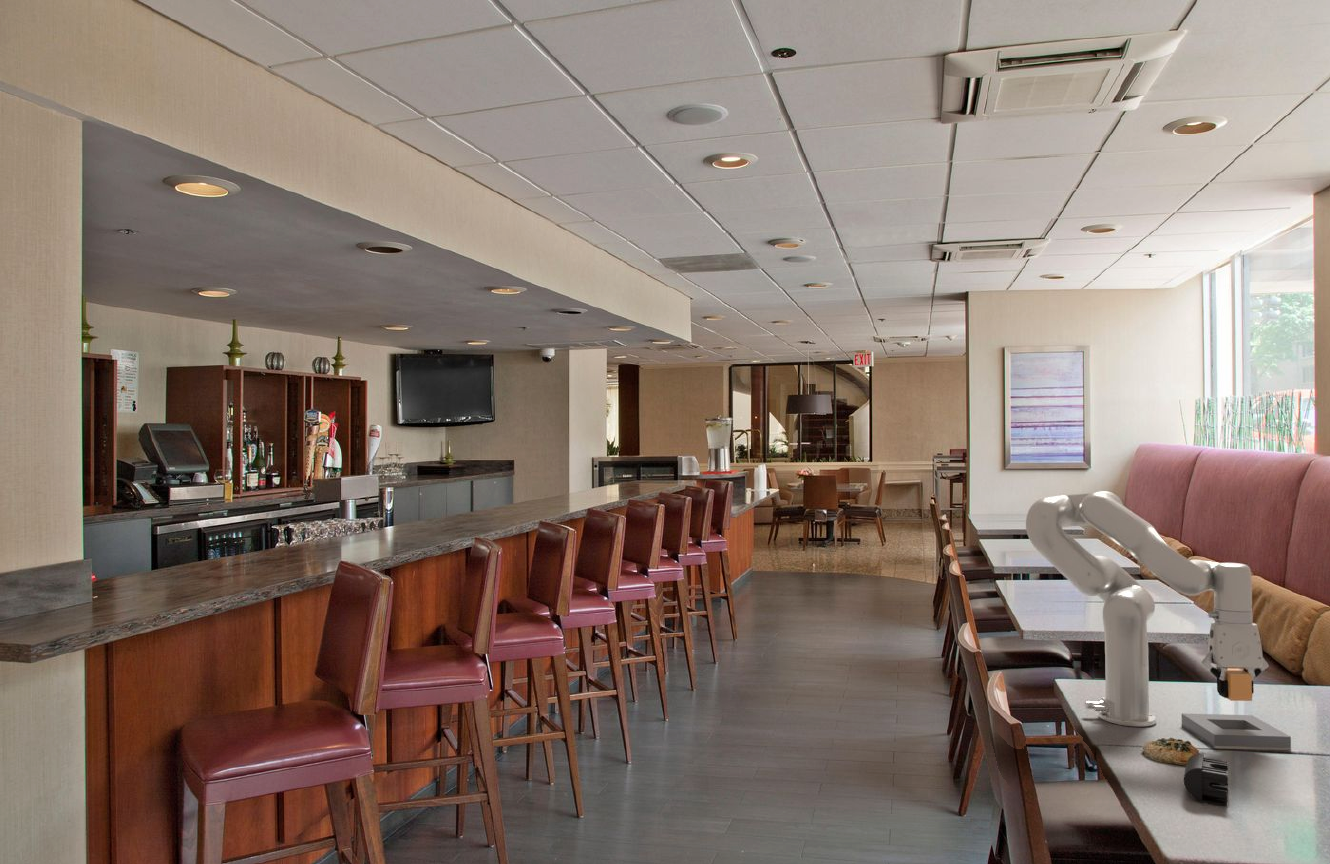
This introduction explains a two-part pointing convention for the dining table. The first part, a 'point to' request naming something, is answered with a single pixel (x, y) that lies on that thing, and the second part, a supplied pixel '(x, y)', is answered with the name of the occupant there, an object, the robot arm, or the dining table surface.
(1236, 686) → the plug
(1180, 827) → the dining table surface
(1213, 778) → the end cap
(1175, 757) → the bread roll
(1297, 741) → the dining table surface
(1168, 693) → the dining table surface
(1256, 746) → the socket plate
